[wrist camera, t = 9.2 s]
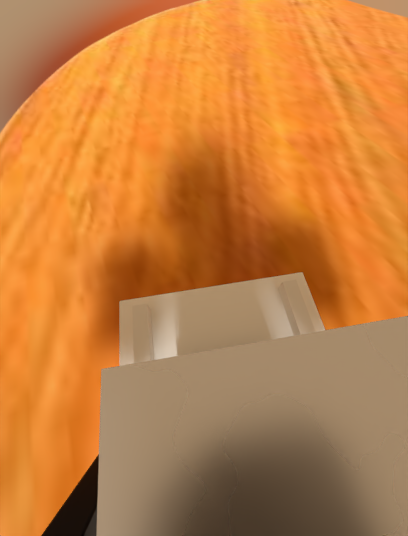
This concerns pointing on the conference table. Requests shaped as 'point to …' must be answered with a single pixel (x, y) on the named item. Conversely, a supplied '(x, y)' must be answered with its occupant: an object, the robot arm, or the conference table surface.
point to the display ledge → (216, 318)
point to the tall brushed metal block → (260, 438)
